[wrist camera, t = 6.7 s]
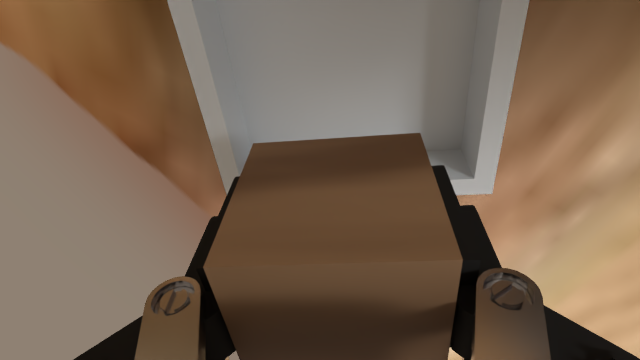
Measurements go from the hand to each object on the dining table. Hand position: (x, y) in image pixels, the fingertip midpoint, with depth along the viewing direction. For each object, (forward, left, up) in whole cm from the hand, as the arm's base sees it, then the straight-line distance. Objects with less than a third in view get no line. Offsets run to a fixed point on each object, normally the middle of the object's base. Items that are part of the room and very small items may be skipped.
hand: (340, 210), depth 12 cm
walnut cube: (0, 0, -1) cm, 1 cm away
